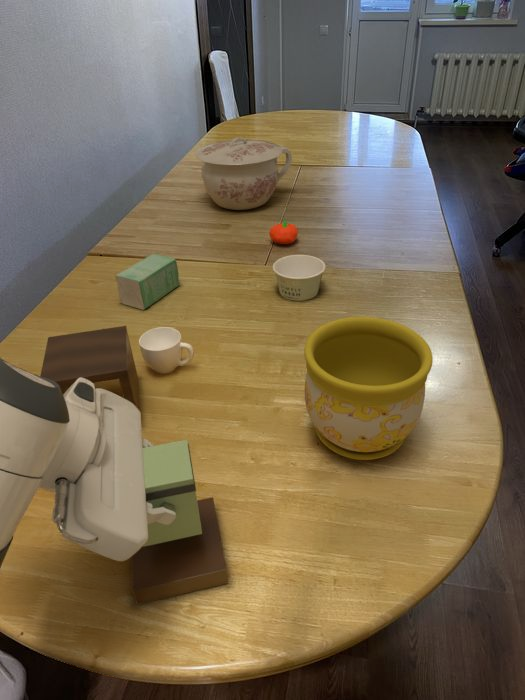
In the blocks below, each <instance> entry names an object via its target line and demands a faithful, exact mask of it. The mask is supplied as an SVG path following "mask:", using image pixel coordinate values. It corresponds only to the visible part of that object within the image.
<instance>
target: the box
mask: <svg viewBox="0 0 525 700" xmlns="http://www.w3.org/2000/svg"><path fill="white" fill-rule="evenodd" d="M177 263H178V262H177V260H176V258H174V257H170V256H166V255H161V254H157V253H153V254H150V255H148V256H146V257H145V258H143V259H141V260H140V261H138V262H136V263H134V264H132V265H131V266H129V267H128V268H126V269H124V270H123V271H121V272H119V273H117V274H115V280H116V284H117V285H116V286H117V290H118V294H119V300H120V303H121V304H123V305H125V306H127V307H128V306H129V307H131V308H134V309H137V310H142V311H143V310H146V309H148V308H149V307H150V306H152V305H154V304H155V303H156V302H158V301H159V300H161V299H162V298H163V297H165V296H166V295H168V294H170V292H172V291H173V290H176V288H178V287H179V286H180V279H179V269H178V264H177Z"/></svg>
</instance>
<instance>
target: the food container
mask: <svg viewBox="0 0 525 700" xmlns="http://www.w3.org/2000/svg"><path fill="white" fill-rule="evenodd" d="M272 270H273V272H274V273H275V277H276V283H277V287H278V290H279V294H280V296H282V298H284V299H287V300H290V301H297V302H298V301H301V302H302V301H308V300H311V299H314V298H315V297H317V295H318V294H319V292H320V291H319V290H320V287H321V282H322V279H323V278H322V277H323V273H324V272H325V271H326V264H325V262H324V261H323V260H322V259H321V258H318V257H316V256H312V255H308V254H292V255H291V254H290V255H287V256H282V257H280V258H278V259H277V260H276V261H274V263H273V264H272Z"/></svg>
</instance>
